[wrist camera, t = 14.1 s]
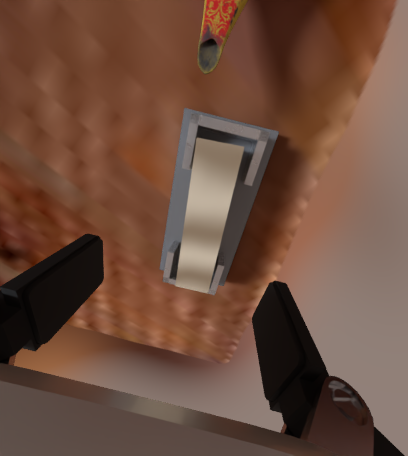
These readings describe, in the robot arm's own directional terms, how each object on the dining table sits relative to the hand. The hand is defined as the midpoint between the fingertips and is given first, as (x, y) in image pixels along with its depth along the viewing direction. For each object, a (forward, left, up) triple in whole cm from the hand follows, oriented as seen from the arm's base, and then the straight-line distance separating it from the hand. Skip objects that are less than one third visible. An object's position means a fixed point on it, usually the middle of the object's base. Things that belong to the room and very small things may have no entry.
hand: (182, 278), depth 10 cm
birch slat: (+1, 0, -13) cm, 13 cm away
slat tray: (+1, 0, -15) cm, 15 cm away
